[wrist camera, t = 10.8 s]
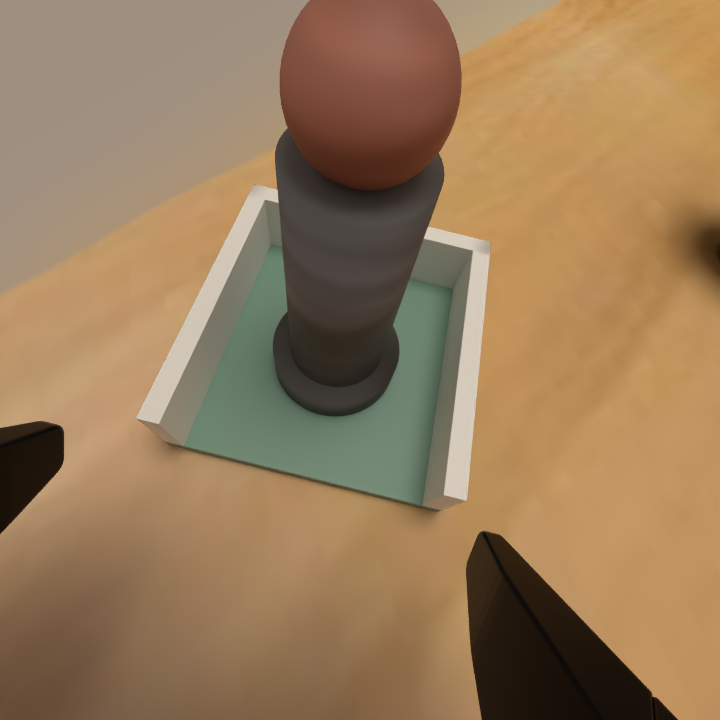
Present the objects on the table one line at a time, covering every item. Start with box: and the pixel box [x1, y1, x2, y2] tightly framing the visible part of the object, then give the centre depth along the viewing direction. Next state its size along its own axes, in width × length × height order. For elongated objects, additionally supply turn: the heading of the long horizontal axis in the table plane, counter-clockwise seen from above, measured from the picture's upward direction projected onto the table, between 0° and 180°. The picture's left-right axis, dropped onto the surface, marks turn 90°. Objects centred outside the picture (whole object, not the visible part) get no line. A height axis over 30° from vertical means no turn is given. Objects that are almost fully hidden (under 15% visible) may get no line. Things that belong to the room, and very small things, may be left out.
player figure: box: [273, 0, 461, 416], centre depth 13 cm, size 6×6×14 cm
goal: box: [136, 184, 491, 511], centre depth 18 cm, size 12×12×4 cm
